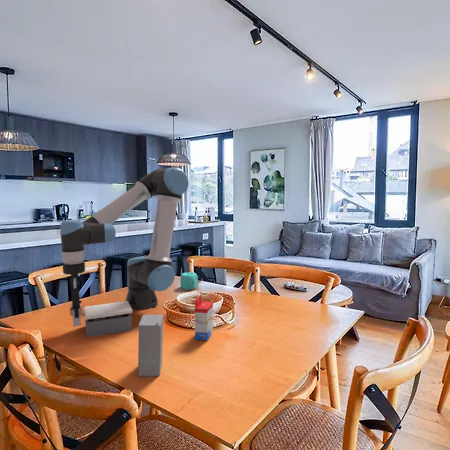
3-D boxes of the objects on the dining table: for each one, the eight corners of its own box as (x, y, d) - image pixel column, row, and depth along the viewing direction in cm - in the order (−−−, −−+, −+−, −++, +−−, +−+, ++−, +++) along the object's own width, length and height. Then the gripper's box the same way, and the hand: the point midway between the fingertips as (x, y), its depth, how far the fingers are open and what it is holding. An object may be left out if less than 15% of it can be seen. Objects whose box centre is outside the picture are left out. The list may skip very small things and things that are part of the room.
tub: (127, 321, 143) (126, 307, 143) (131, 331, 132) (131, 316, 132) (85, 327, 137) (85, 312, 136) (86, 339, 126) (86, 323, 125)
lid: (127, 303, 143) (127, 292, 143) (132, 312, 131) (132, 301, 131) (70, 311, 134) (69, 300, 134) (70, 322, 123) (69, 310, 122)
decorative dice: (180, 289, 190) (180, 275, 189) (184, 285, 198) (184, 272, 197) (194, 290, 189) (194, 275, 188) (198, 286, 197) (197, 272, 196)
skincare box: (141, 363, 107) (140, 314, 106) (164, 362, 108) (163, 313, 106) (137, 378, 99) (135, 324, 97) (162, 376, 99) (161, 323, 98)
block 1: (106, 328, 134) (106, 315, 134) (104, 332, 130) (104, 319, 130) (96, 329, 134) (95, 316, 133) (93, 333, 130) (93, 320, 129)
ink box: (207, 341, 123) (207, 301, 122) (194, 340, 124) (193, 300, 123) (213, 331, 132) (213, 294, 130) (200, 330, 133) (200, 293, 131)
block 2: (119, 322, 140) (119, 310, 139) (122, 325, 136) (122, 313, 136) (109, 325, 138) (108, 312, 137) (112, 328, 134) (111, 315, 134)
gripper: (63, 258, 134) (66, 317, 136) (61, 267, 118) (65, 333, 120) (84, 257, 137) (87, 314, 139) (85, 265, 121) (88, 329, 123)
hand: (77, 323), depth 130 cm, fingers closed on lid, 4 cm apart
